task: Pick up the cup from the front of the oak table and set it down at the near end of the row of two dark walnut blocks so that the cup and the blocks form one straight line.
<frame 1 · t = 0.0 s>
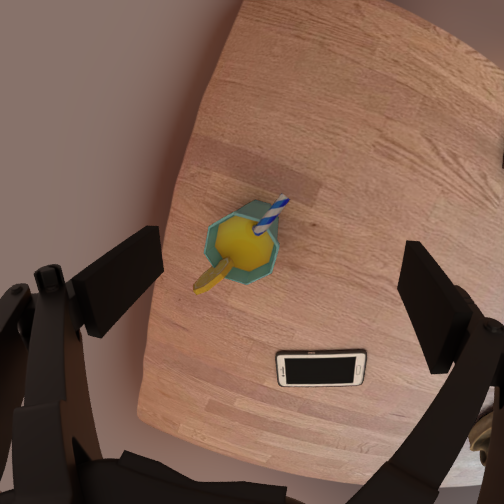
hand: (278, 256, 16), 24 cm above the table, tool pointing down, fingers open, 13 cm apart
bowl: (486, 420, 48), on the table
cup: (262, 213, 40), on the table
cell phone: (321, 366, 48), on the table
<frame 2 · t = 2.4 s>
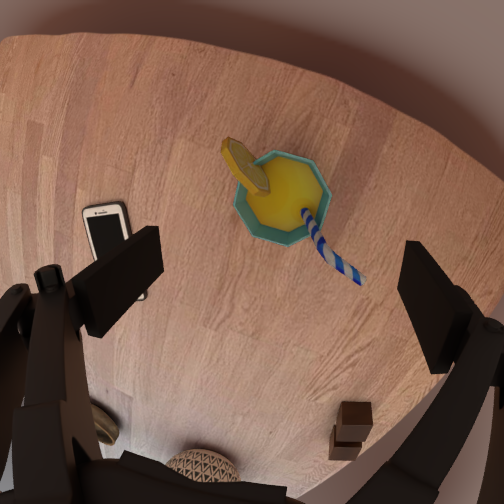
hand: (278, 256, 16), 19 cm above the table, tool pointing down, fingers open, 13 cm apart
bowl: (97, 411, 63), on the table
cup: (298, 183, 33), on the table
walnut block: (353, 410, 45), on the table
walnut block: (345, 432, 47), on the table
cell phone: (116, 252, 41), on the table
planter: (211, 455, 59), on the table
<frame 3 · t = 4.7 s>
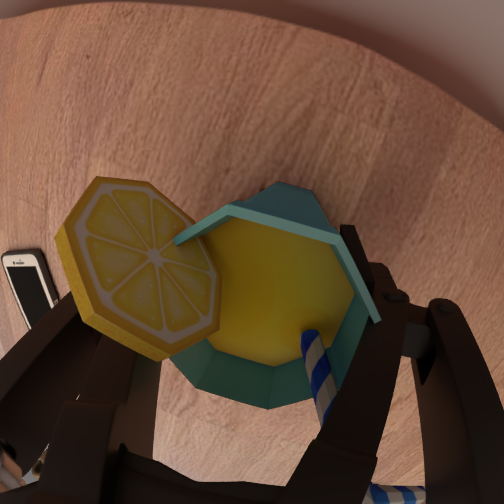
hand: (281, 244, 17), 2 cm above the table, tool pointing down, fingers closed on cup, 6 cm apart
bowl: (69, 456, 48), on the table
cup: (296, 232, 19), on the table, touching gripper
cell phone: (45, 311, 27), on the table
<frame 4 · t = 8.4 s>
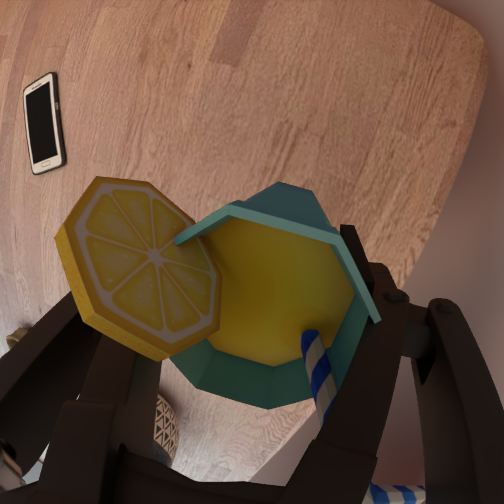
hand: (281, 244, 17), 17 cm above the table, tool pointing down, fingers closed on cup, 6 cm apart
bowl: (37, 345, 56), on the table
cup: (296, 232, 19), point 15 cm above the table, touching gripper
cell phone: (45, 123, 35), on the table
planter: (148, 397, 52), on the table
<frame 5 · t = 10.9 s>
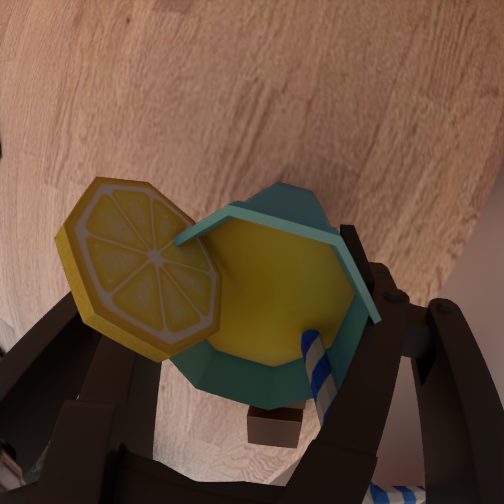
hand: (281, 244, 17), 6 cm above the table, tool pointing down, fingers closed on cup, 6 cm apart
cup: (296, 232, 19), point 4 cm above the table, touching gripper
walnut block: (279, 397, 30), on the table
planter: (112, 426, 42), on the table
when the fingers open (2 cm above the table, at t = 12.3 s): cup stays where it is, on the table.
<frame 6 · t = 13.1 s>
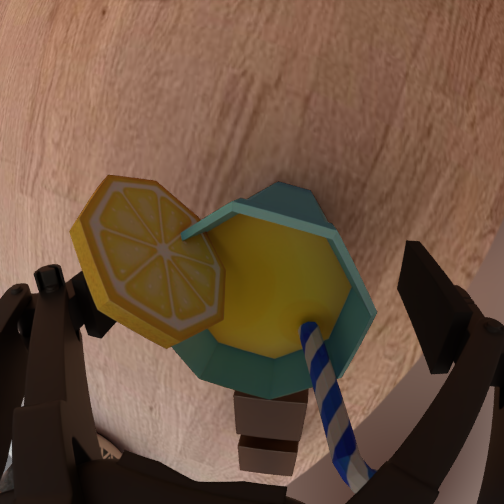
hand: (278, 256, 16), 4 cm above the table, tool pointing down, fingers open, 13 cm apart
cup: (295, 230, 20), on the table
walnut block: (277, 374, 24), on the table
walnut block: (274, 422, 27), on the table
planter: (102, 441, 38), on the table
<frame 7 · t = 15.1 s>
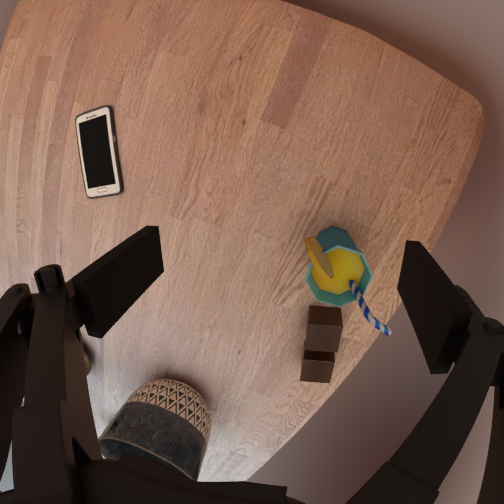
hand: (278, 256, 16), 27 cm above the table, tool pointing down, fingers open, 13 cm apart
cup: (338, 247, 43), on the table
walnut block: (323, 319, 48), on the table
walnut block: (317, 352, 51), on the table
cell phone: (100, 152, 44), on the table
planter: (181, 391, 62), on the table
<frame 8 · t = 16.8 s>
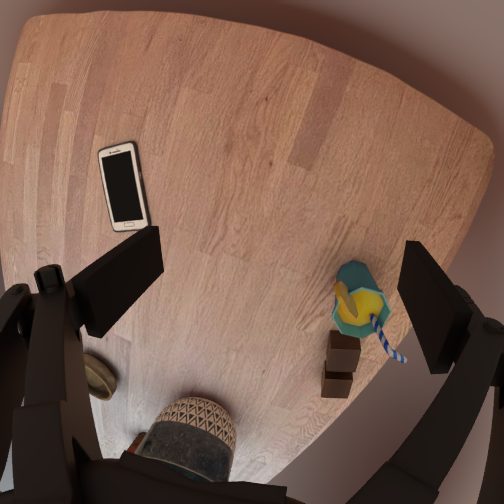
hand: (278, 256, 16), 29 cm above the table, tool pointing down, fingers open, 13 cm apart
bowl: (96, 366, 68), on the table
cup: (357, 278, 46), on the table
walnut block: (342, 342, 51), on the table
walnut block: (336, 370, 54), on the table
cell phone: (125, 187, 47), on the table
planter: (206, 407, 65), on the table
food container: (157, 443, 79), on the table
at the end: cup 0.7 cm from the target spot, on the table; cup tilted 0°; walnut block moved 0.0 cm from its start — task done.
